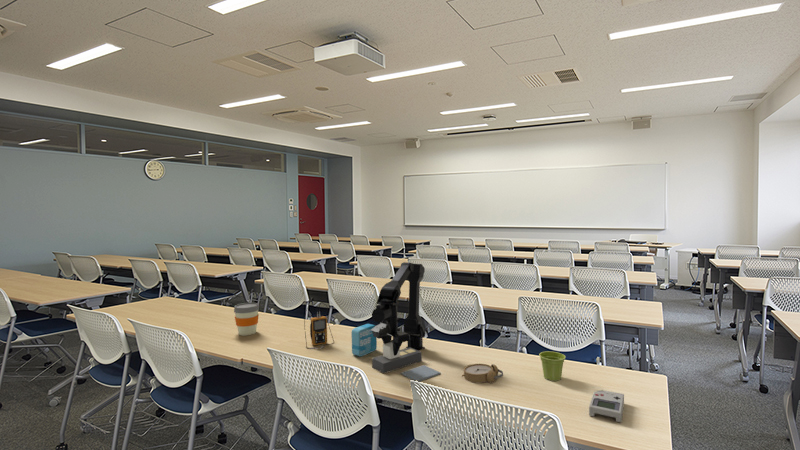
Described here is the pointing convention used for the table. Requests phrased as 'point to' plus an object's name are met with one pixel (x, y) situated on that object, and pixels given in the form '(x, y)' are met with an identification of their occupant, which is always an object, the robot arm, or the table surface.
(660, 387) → the table surface
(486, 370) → the alarm clock
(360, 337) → the data package
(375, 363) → the block
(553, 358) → the plant pot
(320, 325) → the multimeter
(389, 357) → the plug
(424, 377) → the mat
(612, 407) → the handheld gaming device
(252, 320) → the reusable coffee cup
